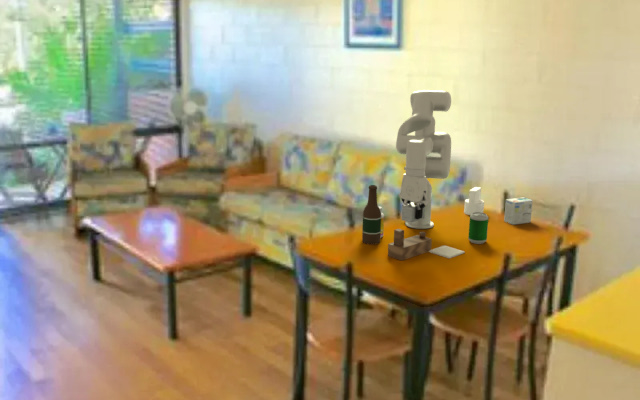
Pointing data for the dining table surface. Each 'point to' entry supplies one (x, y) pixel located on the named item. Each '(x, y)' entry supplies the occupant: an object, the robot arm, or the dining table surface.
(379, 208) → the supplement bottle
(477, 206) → the base with upright slab
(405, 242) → the body
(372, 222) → the beer bottle
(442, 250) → the felt pad
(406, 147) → the robot arm
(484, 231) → the soda can
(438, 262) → the dining table surface
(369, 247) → the dining table surface
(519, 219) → the light bulb box
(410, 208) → the grey stone box
